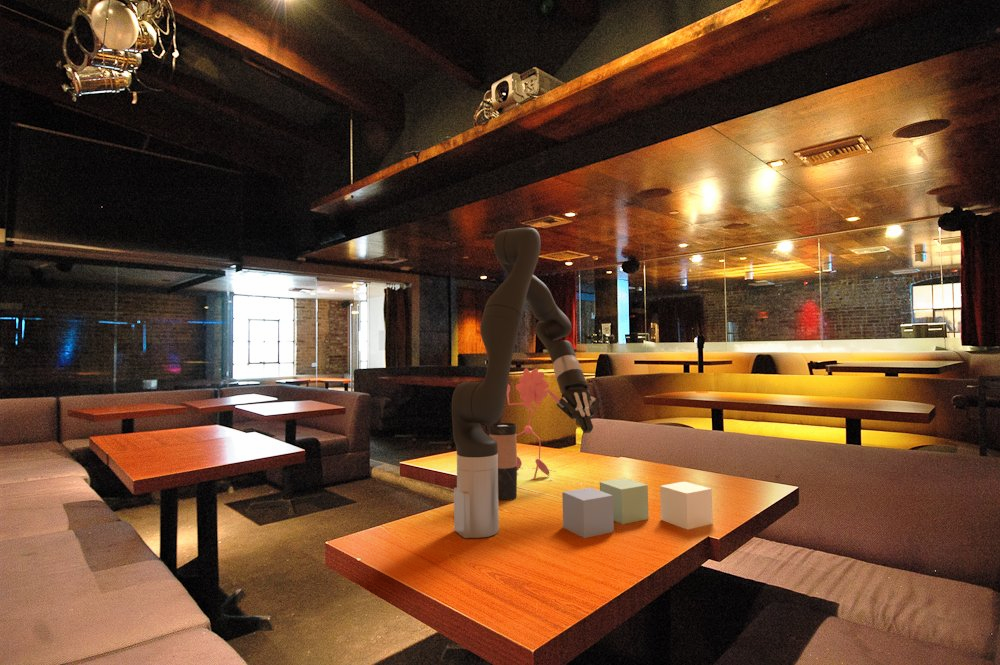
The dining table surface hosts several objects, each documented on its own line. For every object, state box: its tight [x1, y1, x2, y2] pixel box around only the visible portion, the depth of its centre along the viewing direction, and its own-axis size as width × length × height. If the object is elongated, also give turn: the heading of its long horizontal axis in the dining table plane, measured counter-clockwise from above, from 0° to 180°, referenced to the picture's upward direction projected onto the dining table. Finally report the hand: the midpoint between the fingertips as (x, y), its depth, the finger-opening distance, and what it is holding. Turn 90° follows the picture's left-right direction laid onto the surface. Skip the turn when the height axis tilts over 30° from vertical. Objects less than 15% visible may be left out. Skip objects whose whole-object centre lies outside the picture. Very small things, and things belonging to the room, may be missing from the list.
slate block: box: [561, 487, 615, 539], centre depth 115 cm, size 8×8×8 cm
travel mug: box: [488, 422, 518, 502], centre depth 143 cm, size 8×8×20 cm
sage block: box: [599, 477, 649, 525], centre depth 124 cm, size 8×8×8 cm
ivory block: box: [659, 481, 714, 531], centre depth 119 cm, size 8×8×8 cm
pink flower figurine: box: [506, 367, 561, 482], centre depth 171 cm, size 15×26×35 cm, turn 52°
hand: (588, 431), depth 133 cm, fingers closed
